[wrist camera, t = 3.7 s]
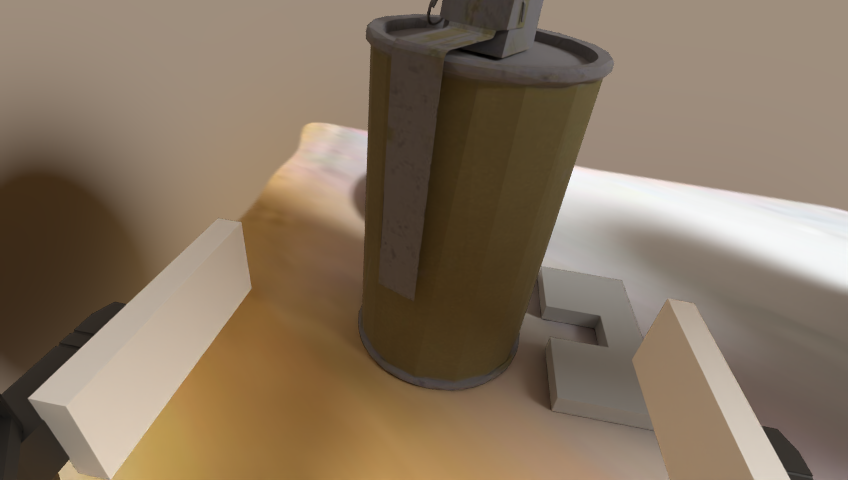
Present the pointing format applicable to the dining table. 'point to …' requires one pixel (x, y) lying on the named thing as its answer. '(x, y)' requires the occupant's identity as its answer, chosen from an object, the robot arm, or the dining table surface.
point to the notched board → (593, 349)
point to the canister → (465, 181)
